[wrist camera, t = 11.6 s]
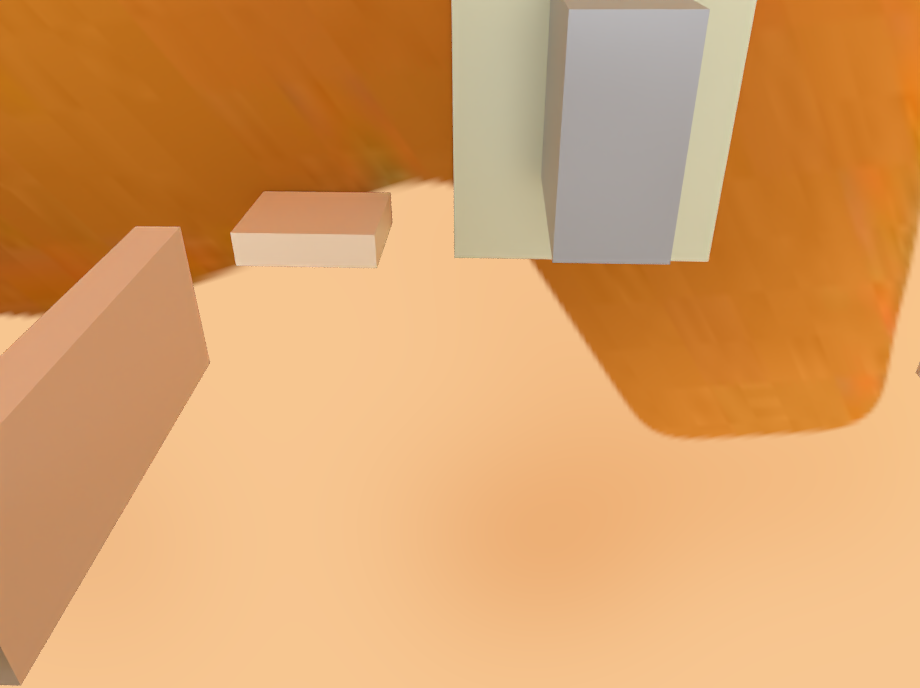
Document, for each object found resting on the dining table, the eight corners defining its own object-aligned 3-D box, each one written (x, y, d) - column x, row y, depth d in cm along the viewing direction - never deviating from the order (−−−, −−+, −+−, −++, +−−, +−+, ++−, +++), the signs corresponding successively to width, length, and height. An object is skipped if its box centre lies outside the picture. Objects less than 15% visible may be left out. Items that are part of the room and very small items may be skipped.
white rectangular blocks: (268, 221, 35) (236, 265, 31) (220, -93, 29) (171, -90, 24) (392, 222, 35) (376, 268, 31) (373, -94, 28) (350, -92, 24)
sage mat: (455, 252, 36) (454, 257, 35) (450, -142, 27) (450, -142, 27) (705, 256, 35) (708, 261, 35) (778, -145, 27) (783, -145, 26)
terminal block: (541, 176, 33) (552, 262, 25) (551, -22, 29) (568, 9, 21) (631, 177, 33) (669, 264, 25) (654, -22, 29) (709, 9, 21)
